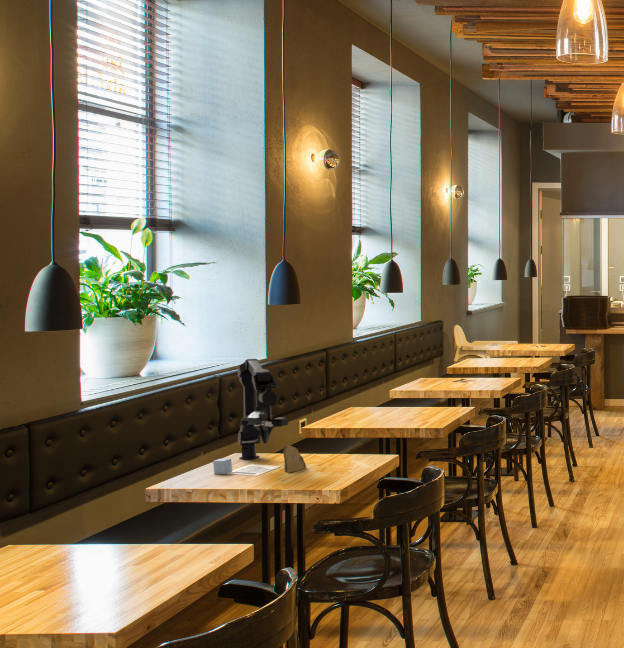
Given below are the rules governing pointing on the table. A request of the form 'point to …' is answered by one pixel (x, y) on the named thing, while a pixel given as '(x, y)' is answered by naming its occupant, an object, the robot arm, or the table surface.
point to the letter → (253, 470)
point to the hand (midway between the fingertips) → (265, 443)
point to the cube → (222, 466)
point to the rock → (293, 459)
